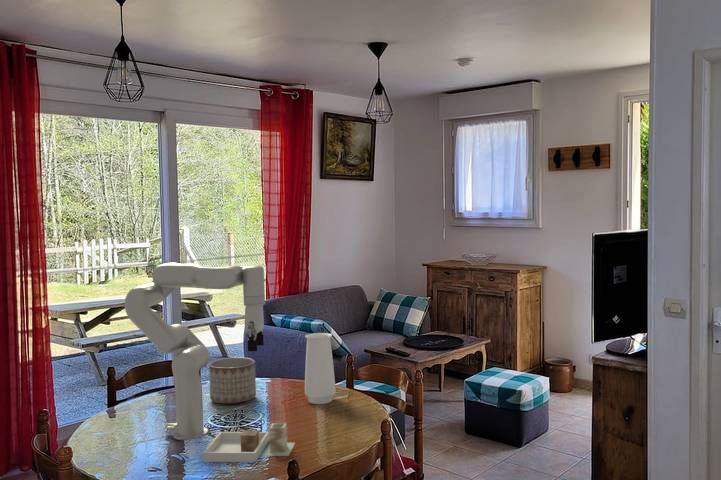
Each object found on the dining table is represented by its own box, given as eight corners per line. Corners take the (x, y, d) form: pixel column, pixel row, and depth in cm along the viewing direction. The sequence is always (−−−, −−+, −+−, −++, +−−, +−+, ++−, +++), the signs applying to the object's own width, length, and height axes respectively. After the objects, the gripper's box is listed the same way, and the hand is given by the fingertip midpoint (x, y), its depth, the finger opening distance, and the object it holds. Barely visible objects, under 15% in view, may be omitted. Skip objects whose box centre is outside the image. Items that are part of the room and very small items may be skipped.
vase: (319, 394, 287) (317, 331, 285) (342, 399, 278) (340, 334, 277) (298, 401, 277) (296, 336, 275) (321, 407, 268) (319, 339, 267)
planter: (206, 397, 286) (204, 360, 285) (249, 391, 294) (248, 355, 294) (216, 409, 269) (214, 370, 268) (261, 402, 277) (260, 364, 276)
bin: (202, 463, 212) (202, 452, 212) (220, 441, 231) (220, 431, 231) (255, 463, 210) (255, 452, 210) (269, 441, 230) (268, 431, 230)
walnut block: (241, 453, 218) (240, 435, 218) (244, 447, 223) (244, 430, 223) (255, 453, 218) (255, 435, 217) (259, 447, 223) (258, 430, 222)
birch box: (269, 451, 219) (269, 427, 218) (273, 446, 224) (272, 423, 223) (284, 451, 218) (283, 427, 218) (287, 446, 223) (286, 423, 223)
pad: (261, 457, 216) (261, 455, 216) (269, 444, 228) (269, 442, 227) (288, 457, 215) (288, 455, 215) (295, 444, 227) (295, 442, 227)
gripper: (250, 297, 241) (251, 343, 242) (237, 304, 224) (239, 353, 225) (270, 297, 241) (271, 343, 242) (258, 304, 224) (260, 353, 224)
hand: (255, 348), depth 233 cm, fingers open, 9 cm apart
